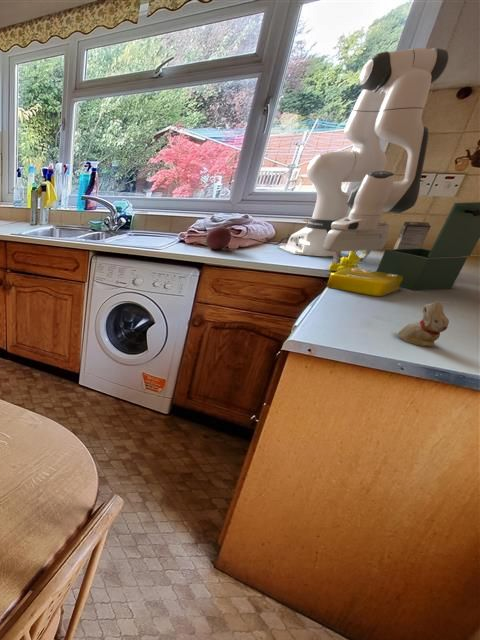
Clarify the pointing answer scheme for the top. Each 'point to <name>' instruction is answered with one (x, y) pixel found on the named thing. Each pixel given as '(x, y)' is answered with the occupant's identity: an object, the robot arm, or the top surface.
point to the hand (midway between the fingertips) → (347, 263)
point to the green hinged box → (421, 268)
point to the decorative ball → (218, 238)
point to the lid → (458, 231)
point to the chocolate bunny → (426, 326)
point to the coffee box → (412, 235)
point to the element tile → (365, 281)
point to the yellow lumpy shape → (346, 262)
